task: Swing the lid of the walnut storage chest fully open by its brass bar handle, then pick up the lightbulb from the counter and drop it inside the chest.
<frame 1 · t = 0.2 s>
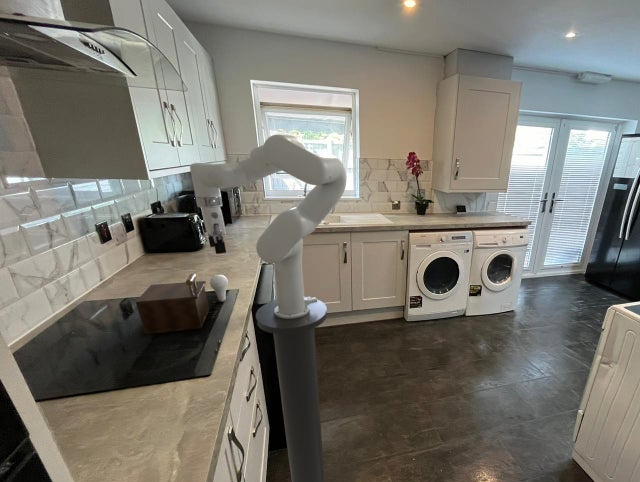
hand: (218, 249, 116), 21 cm above the worktop, tool pointing down, fingers open, 9 cm apart
lightbulb: (222, 301, 126), on the worktop
lid: (172, 285, 105), point 13 cm above the worktop, hinge at 0.0°
chest: (179, 321, 110), on the worktop
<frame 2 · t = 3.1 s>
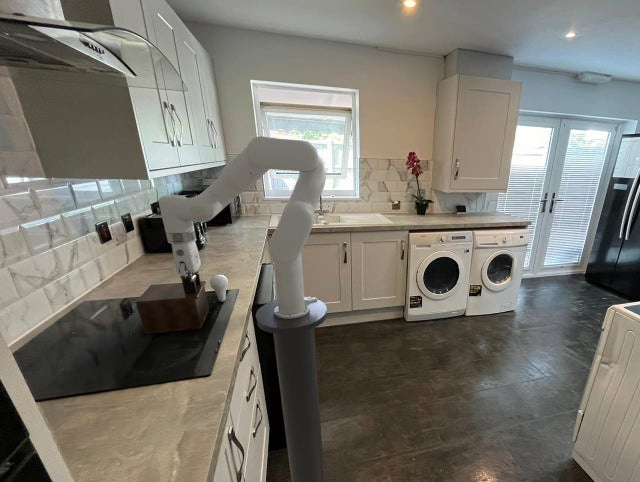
hand: (193, 288, 108), 12 cm above the worktop, tool pointing down, fingers closed on lid, 6 cm apart
lid: (172, 285, 105), point 13 cm above the worktop, hinge at -0.2°, touching gripper
everything else where it was.
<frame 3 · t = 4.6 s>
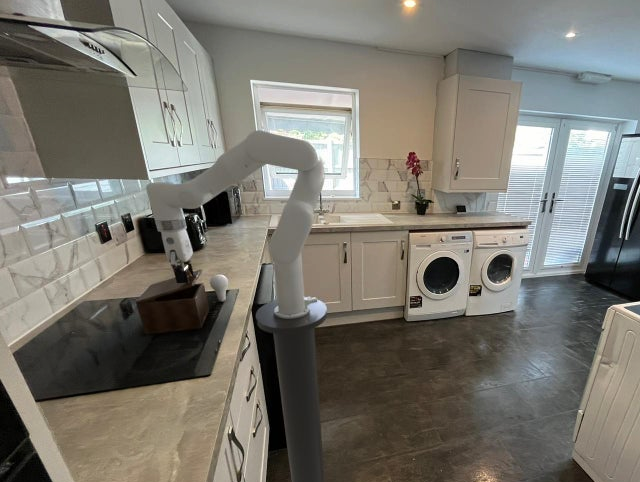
hand: (185, 278, 106), 16 cm above the worktop, tool pointing down, fingers closed on lid, 6 cm apart
lid: (167, 279, 104), point 16 cm above the worktop, hinge at 15.5°, touching gripper
everything else where it was.
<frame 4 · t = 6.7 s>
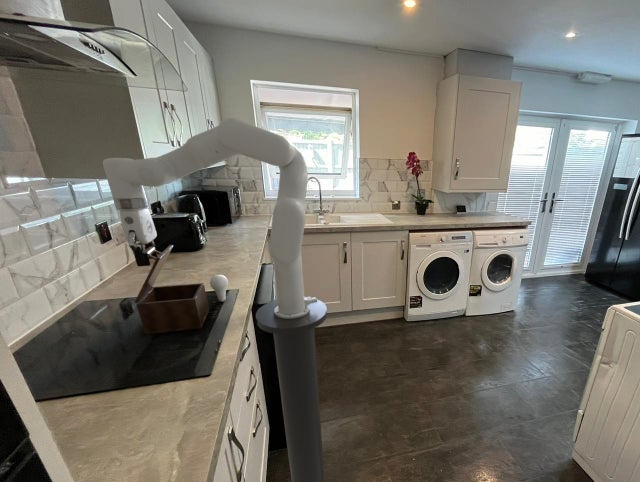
hand: (148, 261, 100), 22 cm above the worktop, tool pointing down, fingers closed on lid, 6 cm apart
lid: (146, 269, 101), point 19 cm above the worktop, hinge at 57.9°, touching gripper
everything else where it was.
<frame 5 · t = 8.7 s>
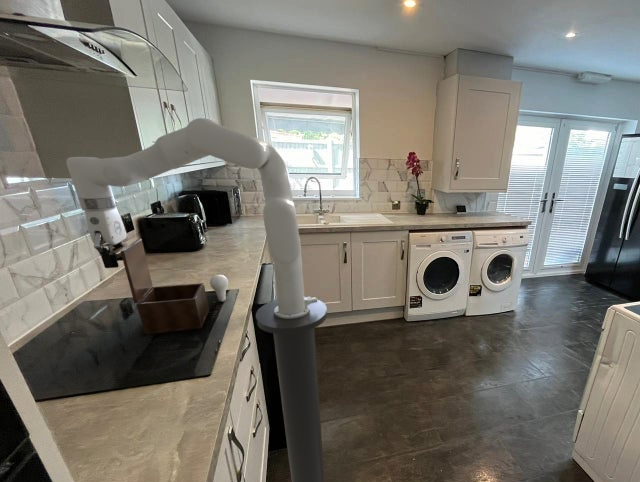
hand: (117, 263, 98), 22 cm above the worktop, tool pointing down, fingers closed on lid, 6 cm apart
lid: (129, 270, 100), point 20 cm above the worktop, hinge at 88.4°, touching gripper
everything else where it was.
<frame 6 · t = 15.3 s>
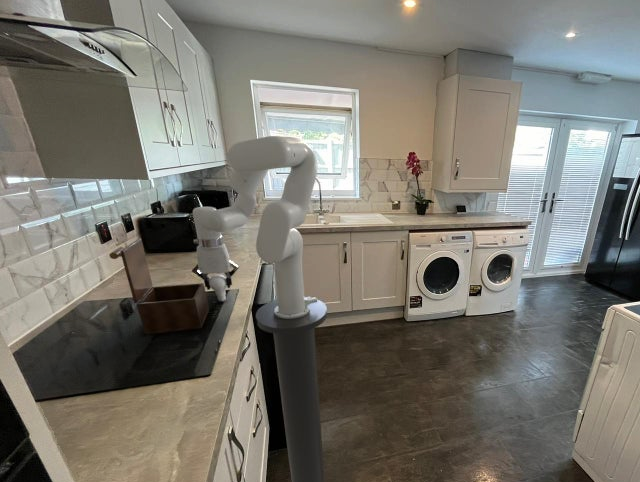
hand: (219, 287, 123), 6 cm above the worktop, tool pointing down, fingers closed on lightbulb, 6 cm apart
lightbulb: (222, 301, 126), on the worktop, touching gripper
lid: (129, 270, 100), point 19 cm above the worktop, hinge at 88.7°
when the fingers open (15 cm above the worktop, at t = 24.2 s): lightbulb drops 8 cm, resting on chest.
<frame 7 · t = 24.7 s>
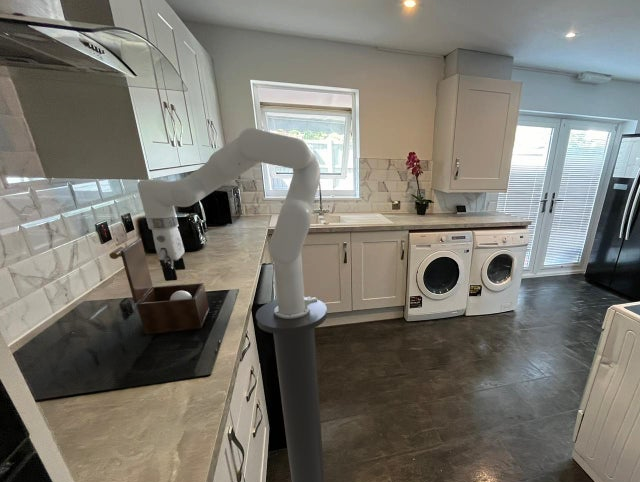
hand: (175, 274, 104), 17 cm above the worktop, tool pointing down, fingers open, 9 cm apart
lightbulb: (186, 319, 110), point 1 cm above the worktop, touching chest
everything else where it was.
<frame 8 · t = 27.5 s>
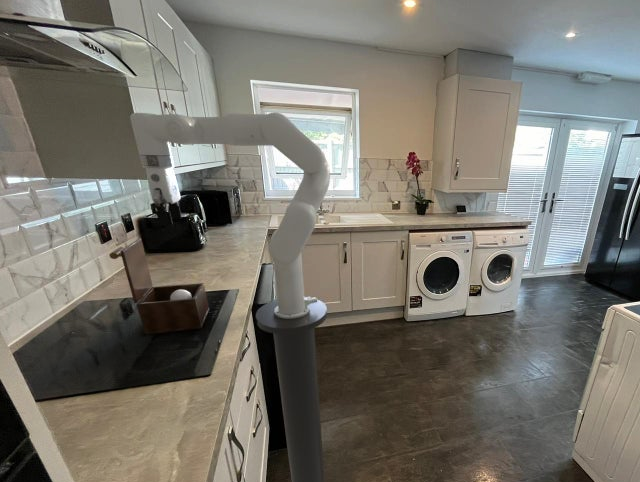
hand: (171, 221, 98), 34 cm above the worktop, tool pointing down, fingers open, 9 cm apart
at the end: lid at +89° (first picture: +0°); lightbulb inside the target area in the chest (2.4 cm from its centre), point 0.6 cm above the chest's base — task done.
